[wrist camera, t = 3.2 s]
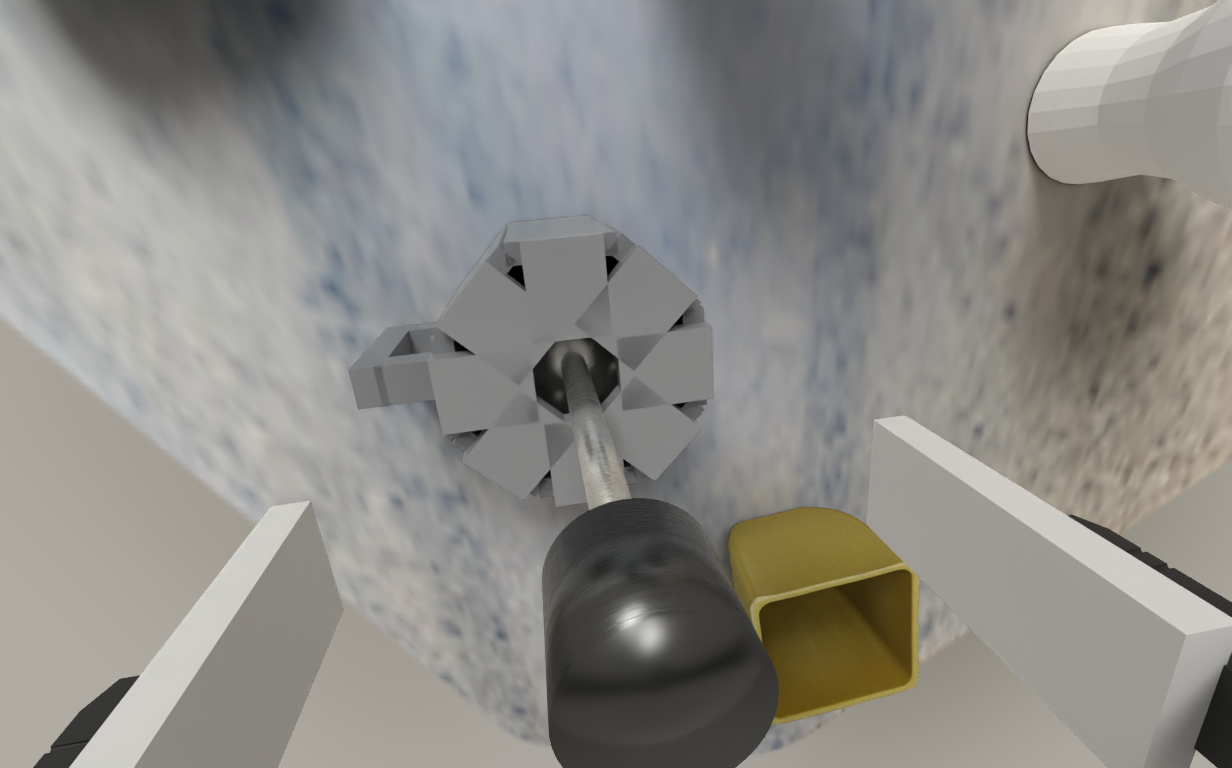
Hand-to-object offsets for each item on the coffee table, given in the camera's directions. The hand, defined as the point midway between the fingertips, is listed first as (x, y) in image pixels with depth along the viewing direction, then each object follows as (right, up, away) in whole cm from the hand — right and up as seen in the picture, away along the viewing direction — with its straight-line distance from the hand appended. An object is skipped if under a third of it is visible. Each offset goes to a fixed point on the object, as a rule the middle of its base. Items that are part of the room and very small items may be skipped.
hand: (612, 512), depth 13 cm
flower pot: (+10, -8, +26) cm, 29 cm away
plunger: (-2, +4, +11) cm, 11 cm away
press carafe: (-5, +6, +18) cm, 20 cm away
